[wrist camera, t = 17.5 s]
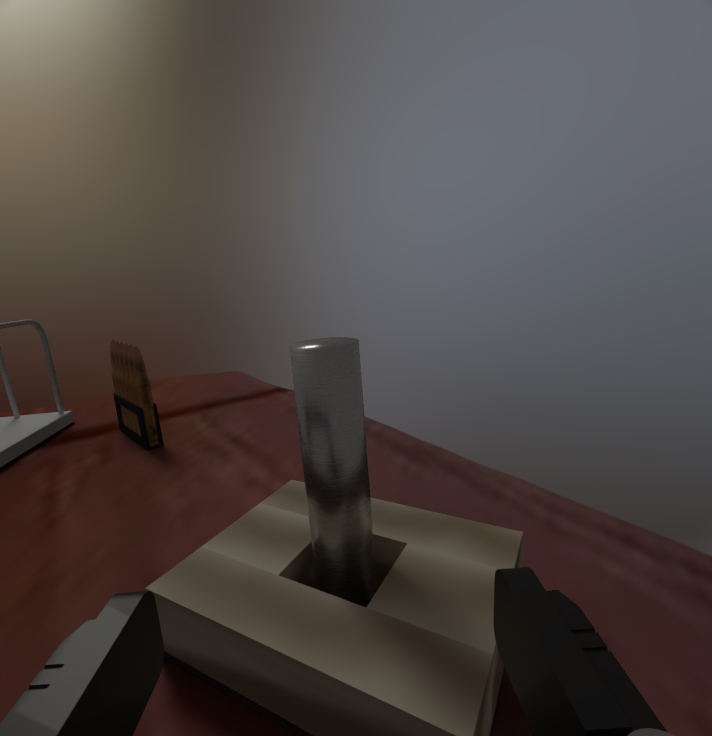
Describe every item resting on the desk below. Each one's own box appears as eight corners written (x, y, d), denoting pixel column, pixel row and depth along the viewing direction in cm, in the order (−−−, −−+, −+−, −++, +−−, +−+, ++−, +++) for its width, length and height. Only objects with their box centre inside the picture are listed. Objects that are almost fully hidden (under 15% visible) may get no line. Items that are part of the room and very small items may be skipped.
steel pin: (362, 649, 21) (336, 350, 17) (308, 627, 22) (275, 349, 19) (388, 603, 24) (370, 337, 20) (339, 587, 25) (314, 337, 22)
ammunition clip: (119, 429, 56) (102, 340, 54) (134, 425, 57) (118, 338, 55) (147, 450, 49) (129, 348, 46) (163, 445, 50) (147, 345, 47)
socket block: (470, 834, 14) (471, 742, 13) (158, 654, 22) (145, 588, 21) (520, 593, 24) (523, 532, 24) (296, 527, 32) (291, 479, 31)
